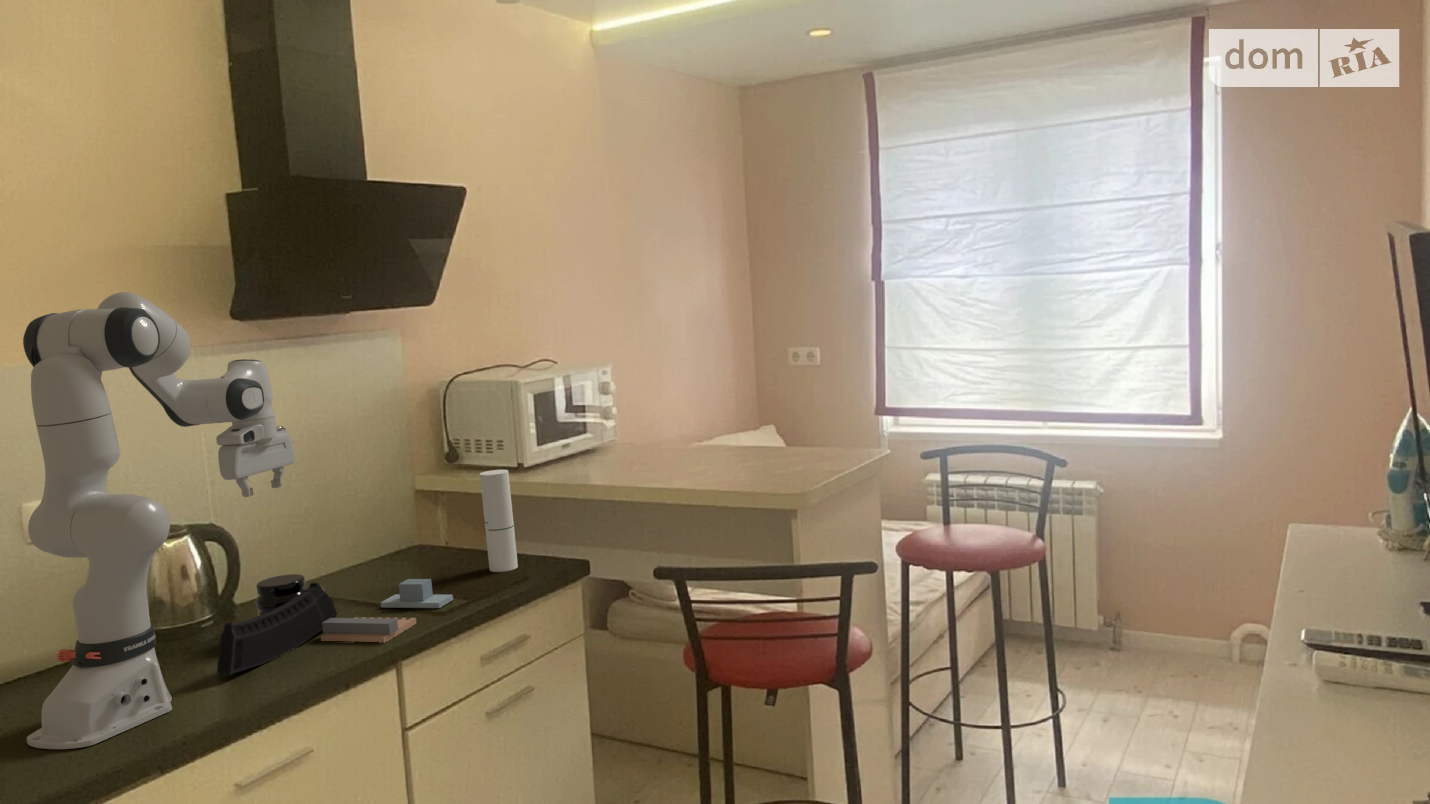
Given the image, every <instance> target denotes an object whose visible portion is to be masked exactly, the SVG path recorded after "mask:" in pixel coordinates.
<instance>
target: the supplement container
mask: <svg viewBox="0 0 1430 804" xmlns="http://www.w3.org/2000/svg"><path fill="white" fill-rule="evenodd" d="M255 586H256V593H257V594H258V596H257V598H256V599H255V605H256V609H257V616H260V615H262V614H265V613H267V612H270V611H272V610H274V609H276V608H278V607H280V606H282V605H283V604H285V603H287V602H289V601H290V600H292V599H293V598H295V597H296V596H298V595H299V594H300V593H302V592H303V591H304V590H306V589H307V588H306V587H305V586H306V579H305V576H304V575H303V574H299V573H297V574H295V573H292V574H281V575H276V576H272V577H268V578H264V579H263V580H261V581H258V583H257V584H256V585H255Z"/></svg>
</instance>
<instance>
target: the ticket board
mask: <svg viewBox="0 0 1430 804" xmlns="http://www.w3.org/2000/svg"><path fill="white" fill-rule="evenodd" d="M416 624H417V618H416V617H383V616H382V617H379V616H378V617H377V616H375V617H373V616H372V617H369V616H367V617H366V616H364V617H362V616H355V617H335V618H330V619H328V620H326V621H324V622H322V627H323V633H322V635H320V641H350V642H349V643H354V641H360V642H361V641H363V642H365V641H366V642H379V643H378V644H385V642H386V641H387V642H389V641H390V640H392V639H393V637H394V638H395V637H397V636H399V635H400V634H402V633H404V632H405V631H406V630H408V629H410V628H412V627H413V626H415V625H416ZM404 630H405V631H404ZM351 641H353V642H351ZM382 642H383V643H382ZM387 642H386V643H387Z"/></svg>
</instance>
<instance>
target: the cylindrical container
mask: <svg viewBox="0 0 1430 804" xmlns="http://www.w3.org/2000/svg"><path fill="white" fill-rule="evenodd" d="M479 480H480V491H481V498H482V499H481V500H482V509H483V518H484V519H483V520H484V528H485V529H484V530H485V539H486V547H487V558H488V566H489V571H490V572H493V573H505V572H509V571H513V570H516V569H517V568H518V567H519V565H518V553H517V545H516V534H515V523H514V515H513V514H514V513H513V503H512V494H511V485H510V474H509V470H508V469H494V470H486V471H482V472H480V473H479Z"/></svg>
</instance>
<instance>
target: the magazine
mask: <svg viewBox="0 0 1430 804" xmlns="http://www.w3.org/2000/svg"><path fill="white" fill-rule="evenodd" d="M337 615H338V612H337V610H336V607H335V604H334V601H333V599H332V597H330V596H329V595H328V593H327V592H326V590H325V589H324V587H323V585H322V584H320V583H319V582H315V581H314V582H310V584H309V586H308V587H307V588H306V590H304V591H303V592H302V593H300V594H299V595H298V596H296V597H295V598H293V599H292V600H290V601H289V602H287V603H285V604H283V605H282V606H280V607H278V608H276V609H274V610H272V611H270V612H267V613H265V614H262V615H260V616H258V615H257V616H254V617H252V618H249V619H247V620H242V621H238V622H226V623H225V624H224V626H223V631H222V633H221V634H220V638H219V651H218V658H217V659H218V661H217V671H216V674H217V675H219V676H220V677H221V676H224V677H225V676H226V677H227V676H232V675H233V674H237V673H239V672H242V671H245V670H248V669H252V668H255V667H259V666H262V665H264V664H267V663H269V662H271V660H272V661H273V659H274V658H276V659H278V658H280V657H281V656H280V655H282V654H284V653H286V652H288V651H290V652H292V651H293V650H292V649H293V648H296V647H297V648H299V647H300V646H301V644H302V645H303V644H305V643H306V642H308V641H309V640H310V639H312V638H313V637H315V635H317V634H318V633H321V632H323V627H322V622H324V621H326V620H328V619H330V618H337ZM298 646H299V647H298ZM297 648H296V649H297ZM291 650H292V651H291ZM288 653H289V652H288ZM286 654H287V653H286ZM284 655H285V654H284ZM279 656H280V657H279ZM277 657H278V658H277ZM274 660H275V659H274ZM268 661H269V662H268ZM266 662H267V663H266Z"/></svg>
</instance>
